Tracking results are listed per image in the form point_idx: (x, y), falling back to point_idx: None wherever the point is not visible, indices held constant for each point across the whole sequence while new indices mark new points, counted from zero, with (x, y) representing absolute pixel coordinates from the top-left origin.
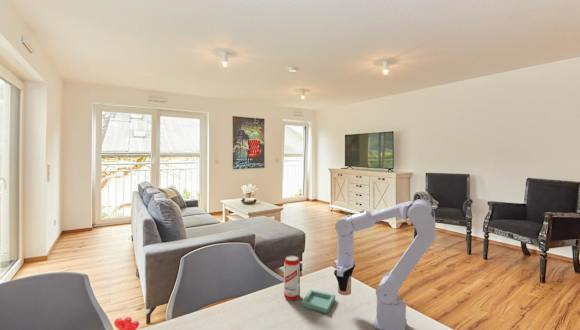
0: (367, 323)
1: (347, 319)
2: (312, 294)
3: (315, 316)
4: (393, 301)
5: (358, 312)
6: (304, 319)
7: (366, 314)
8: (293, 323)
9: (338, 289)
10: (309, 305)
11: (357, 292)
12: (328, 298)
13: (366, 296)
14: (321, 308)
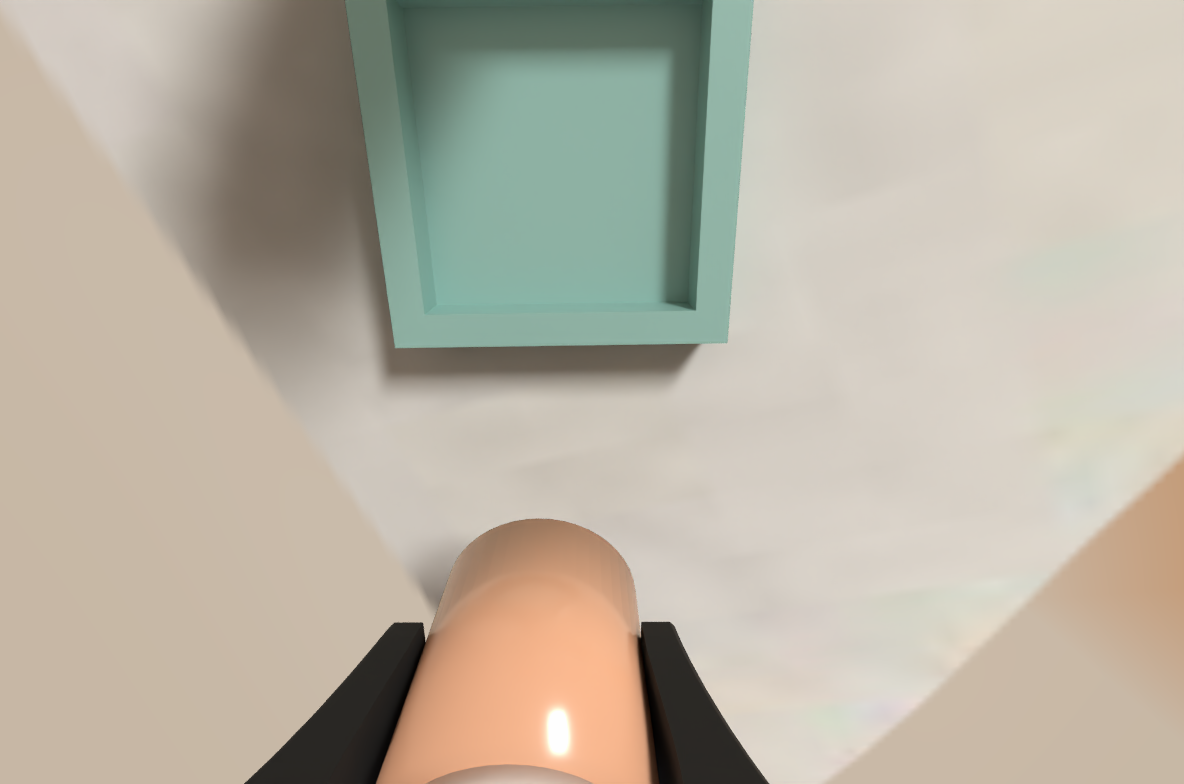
0: None
1: (442, 513)
2: (702, 9)
3: (310, 223)
4: None
5: None
6: (183, 121)
7: None
8: (30, 19)
9: (473, 564)
10: (362, 95)
11: (943, 501)
12: (689, 261)
13: (885, 583)
14: (386, 272)
